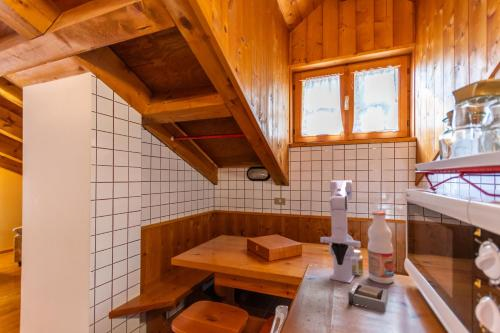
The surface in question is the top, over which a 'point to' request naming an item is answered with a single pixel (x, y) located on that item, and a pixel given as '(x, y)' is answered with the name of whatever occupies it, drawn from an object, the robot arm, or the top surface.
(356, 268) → the supplement bottle
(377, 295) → the link block
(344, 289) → the top surface
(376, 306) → the cradle
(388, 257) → the fruit juice
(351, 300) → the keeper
